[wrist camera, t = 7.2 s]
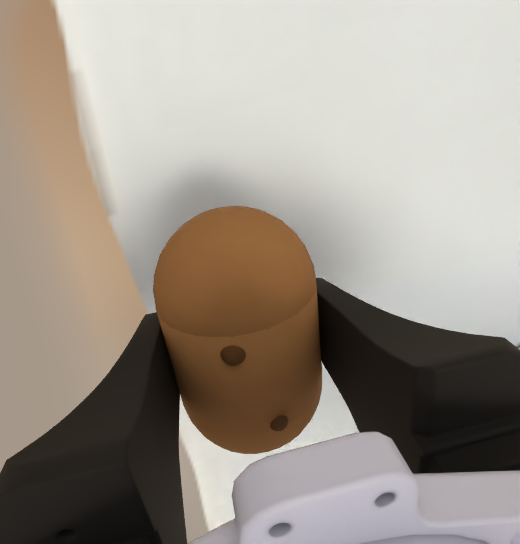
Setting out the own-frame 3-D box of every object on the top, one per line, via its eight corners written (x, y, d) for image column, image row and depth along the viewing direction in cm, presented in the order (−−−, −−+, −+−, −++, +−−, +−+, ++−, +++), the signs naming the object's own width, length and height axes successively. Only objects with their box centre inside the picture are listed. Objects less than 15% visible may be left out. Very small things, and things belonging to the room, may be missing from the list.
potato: (302, 368, 18) (348, 468, 13) (190, 395, 17) (200, 509, 13) (285, 174, 14) (341, 228, 9) (138, 201, 13) (126, 271, 9)
